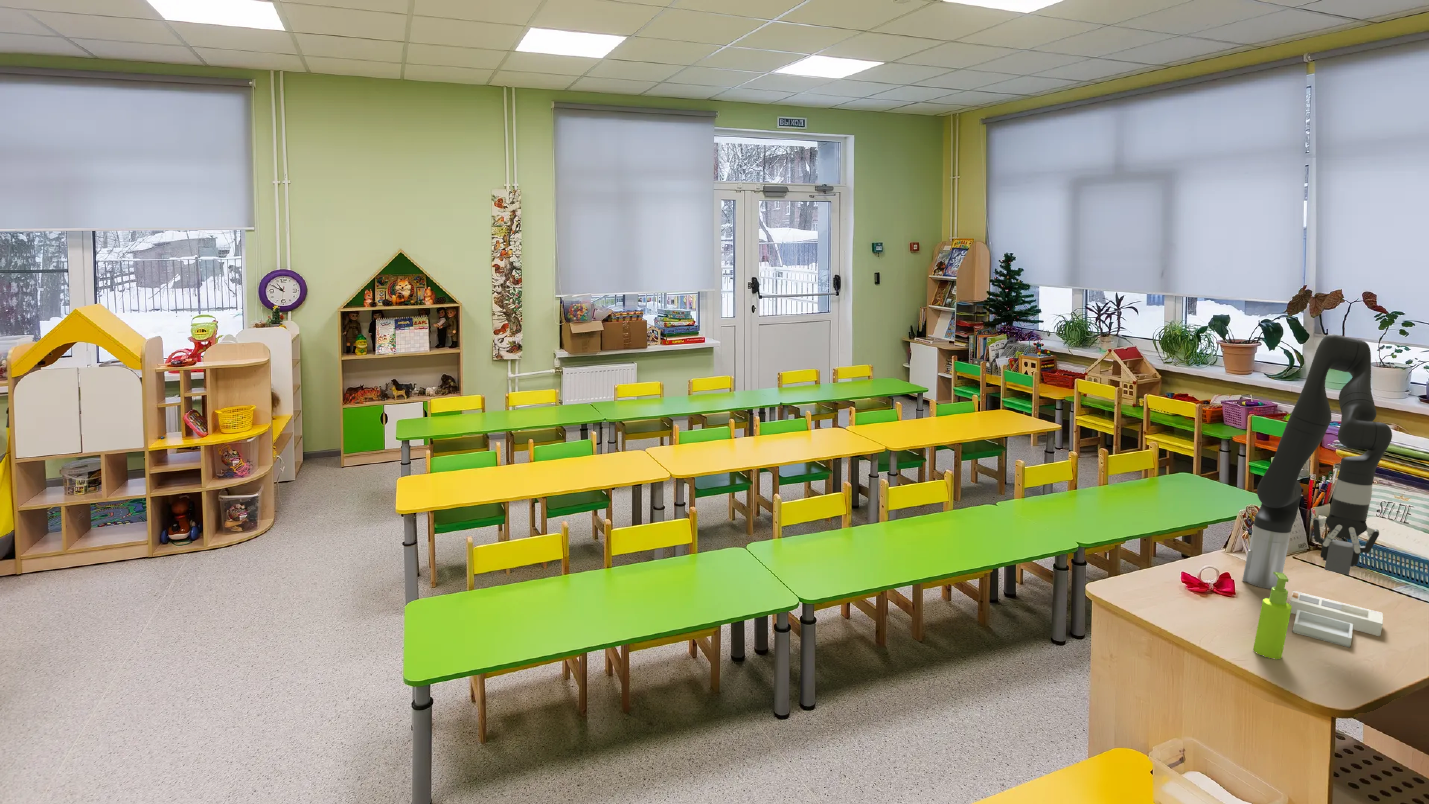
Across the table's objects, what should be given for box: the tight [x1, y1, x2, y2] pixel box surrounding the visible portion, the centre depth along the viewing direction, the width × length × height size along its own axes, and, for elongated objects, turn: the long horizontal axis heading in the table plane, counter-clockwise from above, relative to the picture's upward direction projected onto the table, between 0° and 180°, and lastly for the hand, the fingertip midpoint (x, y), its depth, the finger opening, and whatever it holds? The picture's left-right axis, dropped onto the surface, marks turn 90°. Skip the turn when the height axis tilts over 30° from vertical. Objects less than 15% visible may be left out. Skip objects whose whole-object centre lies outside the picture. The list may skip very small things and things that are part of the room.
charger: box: [1324, 538, 1354, 576], centre depth 216 cm, size 5×7×7 cm
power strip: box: [1289, 590, 1384, 637], centre depth 228 cm, size 20×9×4 cm, turn 52°
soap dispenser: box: [1252, 572, 1292, 660], centre depth 205 cm, size 6×7×20 cm
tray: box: [1292, 610, 1354, 649], centre depth 219 cm, size 12×11×2 cm
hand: (1338, 562), depth 215 cm, fingers closed on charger, 5 cm apart
